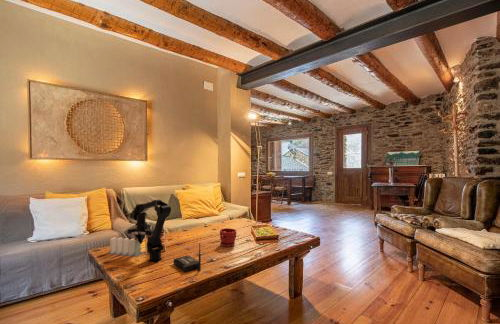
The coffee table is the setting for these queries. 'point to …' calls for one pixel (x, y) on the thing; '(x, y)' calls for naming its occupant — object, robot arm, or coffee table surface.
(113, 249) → the end domino
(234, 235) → the plant pot
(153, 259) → the robot arm
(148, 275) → the coffee table surface
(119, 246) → the domino
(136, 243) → the sage domino
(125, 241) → the domino
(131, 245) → the domino
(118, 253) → the mat
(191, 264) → the black wifi router
